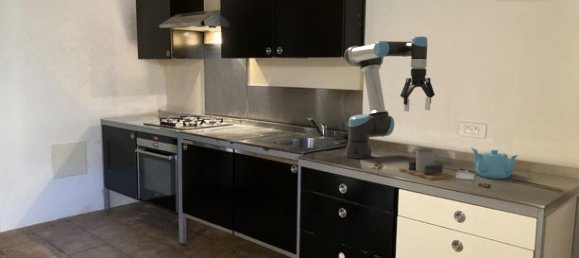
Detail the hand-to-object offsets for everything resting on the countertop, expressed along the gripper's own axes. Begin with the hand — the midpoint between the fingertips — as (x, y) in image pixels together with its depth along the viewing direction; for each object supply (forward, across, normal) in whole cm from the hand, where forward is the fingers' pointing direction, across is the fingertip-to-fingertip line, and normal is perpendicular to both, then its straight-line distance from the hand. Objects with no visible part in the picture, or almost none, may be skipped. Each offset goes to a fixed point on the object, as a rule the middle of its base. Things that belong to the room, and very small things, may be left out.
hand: (417, 110), depth 246 cm
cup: (+28, -7, -15) cm, 32 cm away
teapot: (+29, +18, -32) cm, 47 cm away
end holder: (+29, -7, -15) cm, 33 cm away
